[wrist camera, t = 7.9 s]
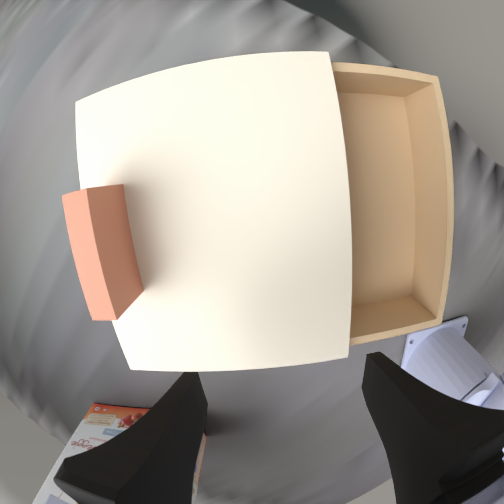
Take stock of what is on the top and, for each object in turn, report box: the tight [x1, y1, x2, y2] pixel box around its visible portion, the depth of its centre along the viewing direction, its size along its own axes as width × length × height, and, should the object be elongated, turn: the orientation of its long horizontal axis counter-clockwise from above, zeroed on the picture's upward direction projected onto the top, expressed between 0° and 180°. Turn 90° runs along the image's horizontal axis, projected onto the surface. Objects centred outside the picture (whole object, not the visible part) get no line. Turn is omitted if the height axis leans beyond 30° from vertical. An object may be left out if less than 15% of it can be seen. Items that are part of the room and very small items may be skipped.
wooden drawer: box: [331, 62, 454, 346], centre depth 16 cm, size 17×14×5 cm
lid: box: [62, 51, 352, 371], centre depth 12 cm, size 18×14×4 cm
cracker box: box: [32, 403, 207, 504], centre depth 15 cm, size 14×6×21 cm, turn 101°
